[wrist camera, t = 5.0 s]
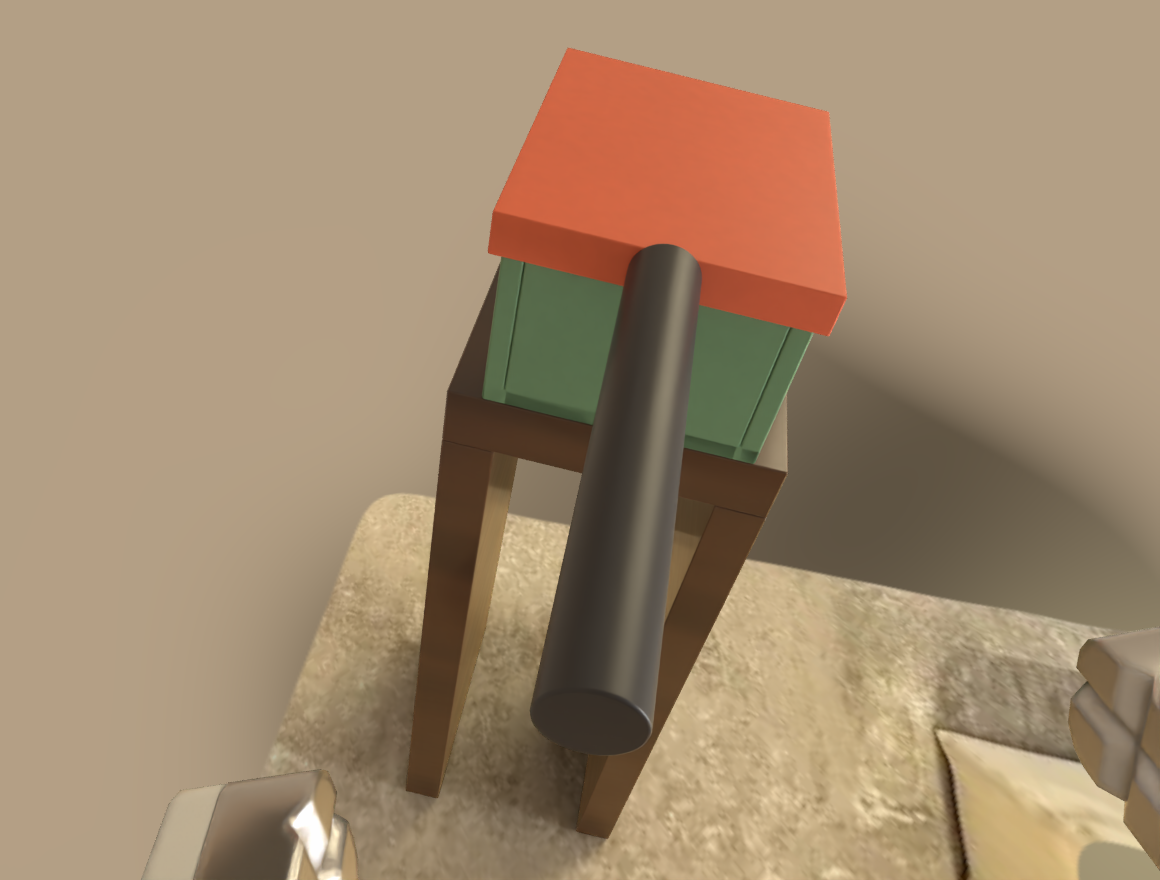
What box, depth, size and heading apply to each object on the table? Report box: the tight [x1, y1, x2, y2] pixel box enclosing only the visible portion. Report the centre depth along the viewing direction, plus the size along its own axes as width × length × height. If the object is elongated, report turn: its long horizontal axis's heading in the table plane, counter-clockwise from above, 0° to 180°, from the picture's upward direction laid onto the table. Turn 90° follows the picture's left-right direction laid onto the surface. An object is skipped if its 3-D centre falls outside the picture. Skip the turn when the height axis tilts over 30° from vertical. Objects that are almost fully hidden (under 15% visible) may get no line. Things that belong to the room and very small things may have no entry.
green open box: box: [482, 257, 813, 464], centre depth 28 cm, size 10×8×5 cm
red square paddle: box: [488, 48, 847, 756], centre depth 21 cm, size 23×9×2 cm, turn 171°
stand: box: [406, 262, 788, 839], centre depth 39 cm, size 10×10×26 cm
